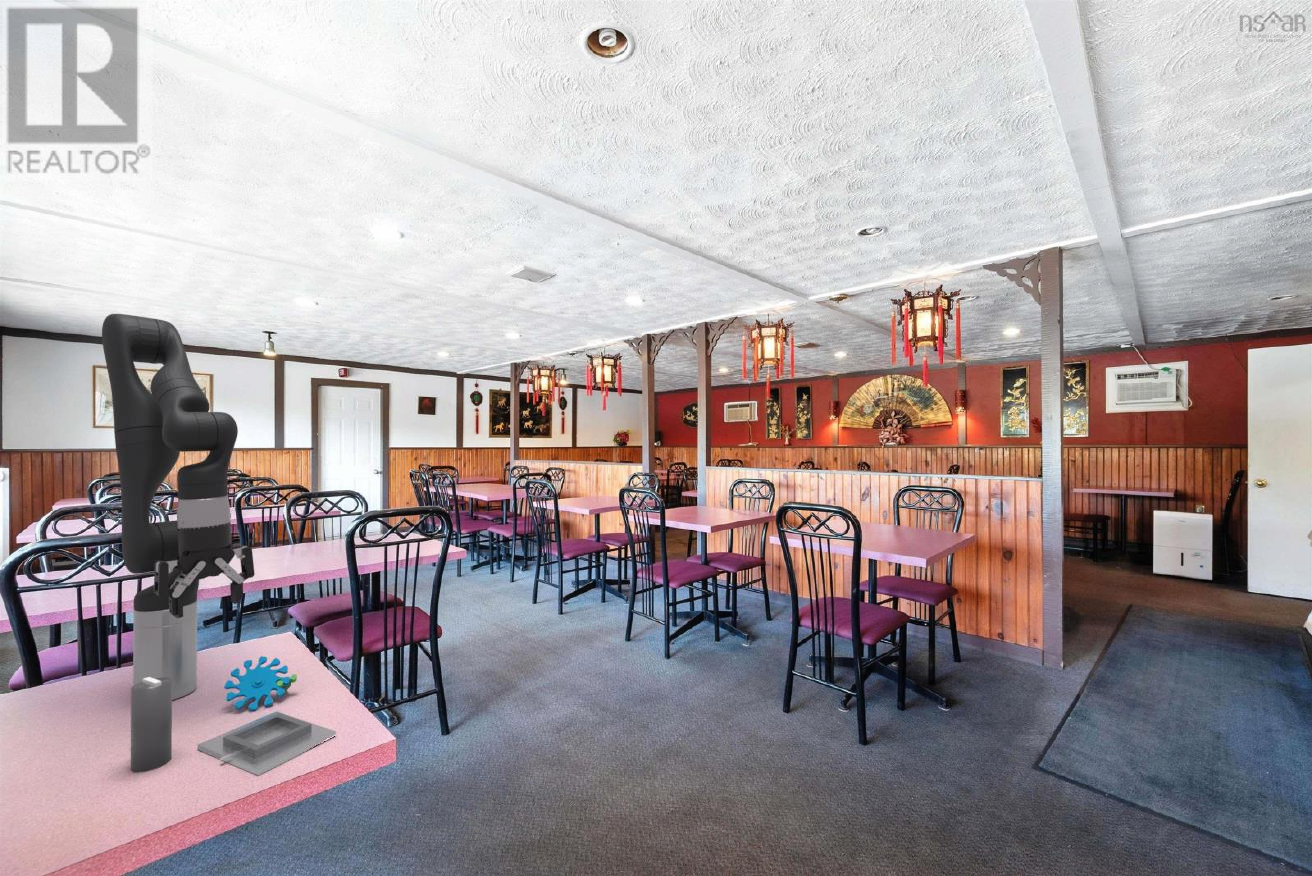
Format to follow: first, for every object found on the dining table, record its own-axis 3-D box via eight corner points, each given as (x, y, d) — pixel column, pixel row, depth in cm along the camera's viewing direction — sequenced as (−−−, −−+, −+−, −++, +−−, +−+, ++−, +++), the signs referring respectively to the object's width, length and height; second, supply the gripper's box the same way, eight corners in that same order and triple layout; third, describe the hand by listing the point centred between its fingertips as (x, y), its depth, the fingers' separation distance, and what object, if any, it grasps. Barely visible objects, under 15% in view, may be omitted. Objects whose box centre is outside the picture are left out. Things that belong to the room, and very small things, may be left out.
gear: (217, 710, 97) (231, 655, 104) (217, 724, 101) (231, 670, 107) (292, 704, 103) (300, 653, 109) (290, 718, 106) (298, 667, 113)
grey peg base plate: (191, 752, 87) (191, 739, 87) (276, 715, 99) (276, 704, 99) (252, 778, 80) (252, 764, 80) (335, 736, 92) (335, 724, 92)
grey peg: (124, 767, 83) (124, 683, 83) (162, 752, 87) (162, 671, 87) (139, 775, 81) (140, 689, 81) (177, 759, 85) (178, 676, 85)
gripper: (241, 513, 109) (244, 595, 110) (145, 526, 97) (149, 617, 98) (258, 517, 105) (261, 602, 105) (161, 531, 93) (165, 626, 94)
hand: (207, 609), depth 102 cm, fingers open, 8 cm apart
